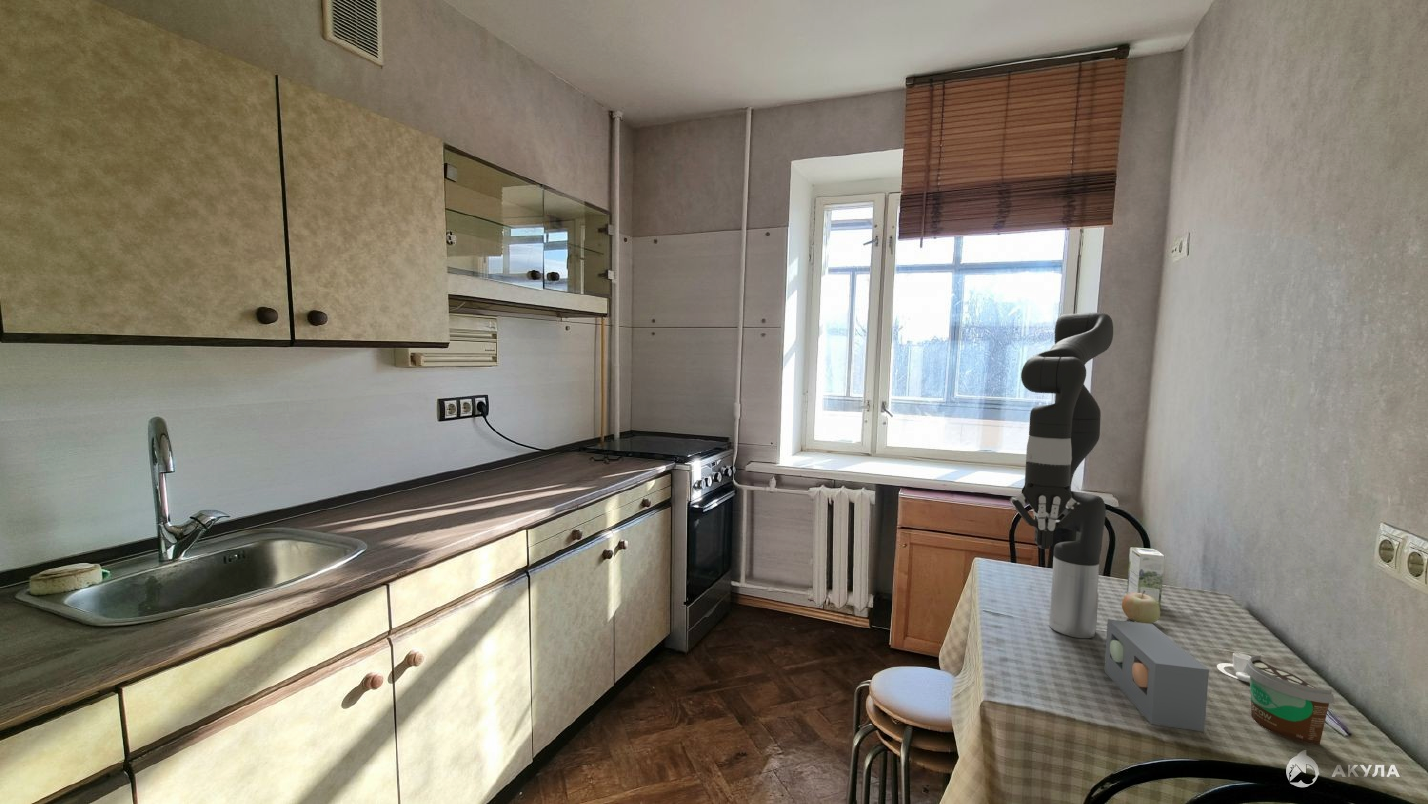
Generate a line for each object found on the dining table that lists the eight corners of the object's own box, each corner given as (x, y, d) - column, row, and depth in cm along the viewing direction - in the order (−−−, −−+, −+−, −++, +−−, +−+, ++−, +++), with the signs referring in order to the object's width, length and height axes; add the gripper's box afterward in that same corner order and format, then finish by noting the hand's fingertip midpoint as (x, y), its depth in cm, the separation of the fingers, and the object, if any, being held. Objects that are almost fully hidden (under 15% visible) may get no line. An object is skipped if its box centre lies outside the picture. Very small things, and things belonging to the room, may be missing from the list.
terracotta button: (1142, 690, 101) (1144, 669, 101) (1131, 679, 105) (1132, 658, 105) (1168, 694, 100) (1169, 672, 100) (1155, 682, 104) (1157, 661, 104)
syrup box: (1149, 599, 155) (1153, 548, 154) (1161, 608, 149) (1165, 554, 148) (1125, 597, 156) (1129, 546, 155) (1136, 606, 150) (1140, 552, 149)
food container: (1222, 706, 105) (1226, 654, 104) (1252, 705, 105) (1257, 653, 105) (1296, 751, 92) (1301, 692, 92) (1330, 749, 93) (1335, 691, 92)
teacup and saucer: (1260, 691, 111) (1262, 671, 111) (1209, 672, 118) (1210, 653, 117) (1274, 679, 116) (1276, 659, 115) (1224, 661, 122) (1225, 643, 122)
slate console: (1151, 724, 99) (1155, 663, 98) (1104, 671, 116) (1107, 619, 116) (1204, 731, 97) (1209, 669, 96) (1148, 676, 115) (1152, 623, 114)
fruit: (1147, 616, 144) (1149, 585, 143) (1165, 629, 137) (1167, 597, 136) (1114, 613, 145) (1116, 583, 145) (1130, 626, 138) (1132, 594, 137)
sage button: (1118, 665, 110) (1120, 645, 110) (1109, 655, 114) (1110, 636, 113) (1142, 668, 109) (1143, 648, 109) (1131, 658, 113) (1133, 638, 113)
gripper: (1078, 459, 112) (1072, 545, 113) (1005, 455, 114) (1001, 539, 115) (1095, 465, 104) (1089, 557, 105) (1016, 460, 107) (1012, 550, 108)
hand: (1043, 547), depth 110 cm, fingers closed
